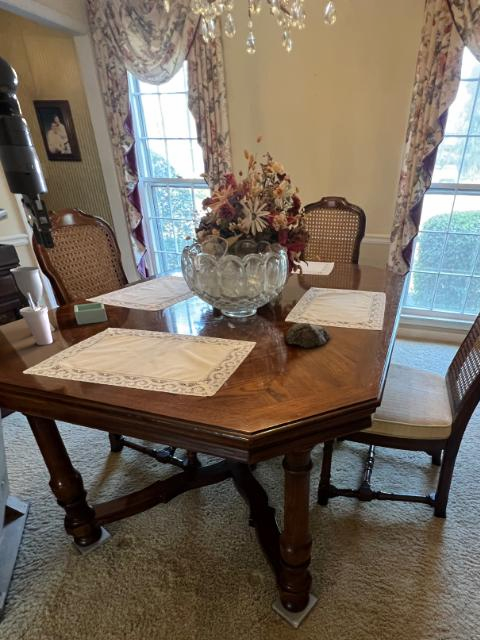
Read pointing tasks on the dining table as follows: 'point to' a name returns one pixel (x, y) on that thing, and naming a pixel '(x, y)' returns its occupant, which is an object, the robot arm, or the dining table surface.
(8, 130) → the robot arm
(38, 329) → the smoothie
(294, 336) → the dark rough stone
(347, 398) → the dining table surface
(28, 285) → the chalice
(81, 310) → the holder
